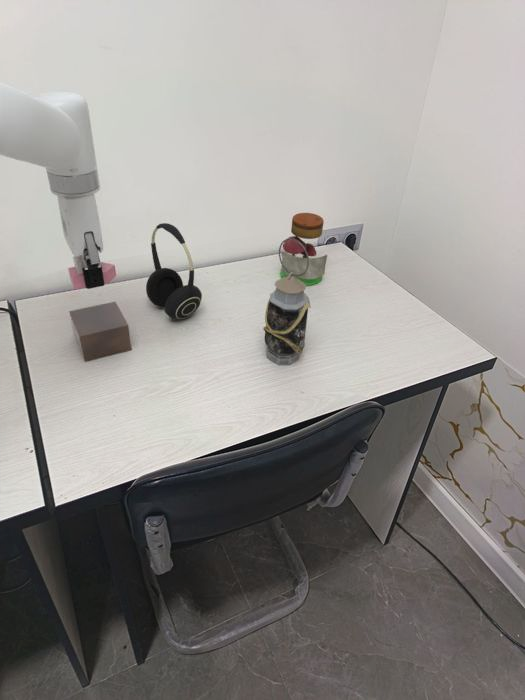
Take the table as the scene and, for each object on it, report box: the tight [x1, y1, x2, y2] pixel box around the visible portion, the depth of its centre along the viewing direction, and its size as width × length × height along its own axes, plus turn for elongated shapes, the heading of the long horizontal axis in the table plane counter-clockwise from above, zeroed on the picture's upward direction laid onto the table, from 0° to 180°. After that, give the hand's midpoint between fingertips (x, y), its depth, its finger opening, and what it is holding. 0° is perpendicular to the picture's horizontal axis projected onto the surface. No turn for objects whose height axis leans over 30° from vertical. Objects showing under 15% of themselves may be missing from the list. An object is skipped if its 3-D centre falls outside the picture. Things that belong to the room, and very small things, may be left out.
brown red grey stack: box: [279, 212, 328, 287], centre depth 120 cm, size 12×13×15 cm
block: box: [68, 301, 132, 363], centre depth 96 cm, size 9×9×6 cm
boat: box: [67, 255, 117, 291], centre depth 88 cm, size 8×4×5 cm, turn 118°
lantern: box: [263, 237, 311, 366], centre depth 91 cm, size 9×8×25 cm
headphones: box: [145, 222, 203, 320], centre depth 102 cm, size 9×15×20 cm, turn 41°
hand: (92, 279), depth 89 cm, fingers closed on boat, 3 cm apart
